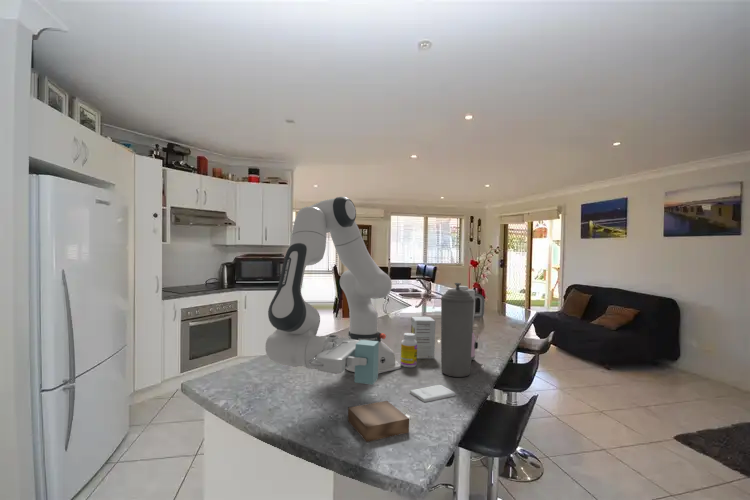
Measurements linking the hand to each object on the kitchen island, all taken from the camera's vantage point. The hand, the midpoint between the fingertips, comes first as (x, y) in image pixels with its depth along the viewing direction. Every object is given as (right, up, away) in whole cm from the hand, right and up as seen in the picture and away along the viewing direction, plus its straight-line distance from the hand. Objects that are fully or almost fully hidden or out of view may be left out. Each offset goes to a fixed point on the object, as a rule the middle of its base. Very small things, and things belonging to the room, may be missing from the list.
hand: (370, 357), depth 96 cm
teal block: (-1, -6, 0) cm, 6 cm away
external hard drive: (+20, -19, +23) cm, 36 cm away
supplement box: (+22, -19, +67) cm, 74 cm away
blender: (+40, -20, +63) cm, 77 cm away
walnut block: (+2, -18, 0) cm, 18 cm away
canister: (+32, -19, +44) cm, 58 cm away
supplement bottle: (+15, -19, +52) cm, 58 cm away
